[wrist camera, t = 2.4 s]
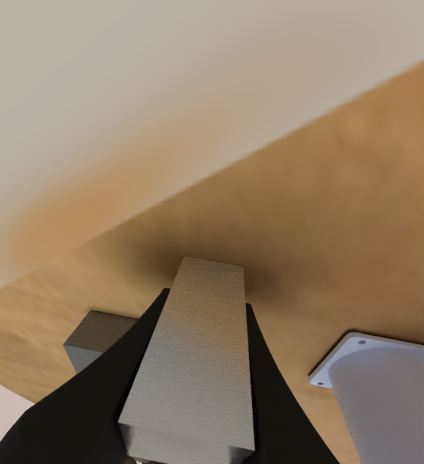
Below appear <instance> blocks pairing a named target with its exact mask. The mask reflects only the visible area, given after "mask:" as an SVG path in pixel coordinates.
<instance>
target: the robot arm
mask: <svg viewBox="0 0 424 464" xmlns="http://www.w3.org/2000/svg"><path fill="white" fill-rule="evenodd" d="M170 290H171V289H169V288H164V289H163V290H162V292H161V293H160V295H159V296H158V297H157V298H156V300H155V301H154V302H153V303H152V305H151V306H150V307H149V308H148V309H147V310H146V312H145V313H144V314H143V315H142V316H141V317H140V318H139V319H138V320H137V321H136V322H135V324H134V325H133V326H132V327H131V328H130V329H129V330H128V331H127V332H126V333H125V334H124V335H123V336H122V337H121V338H119V339H118V340H117V341H116V342H115V343H114V344H113V345H112V346H111V347H110V348H108V349H107V350H106V351H105V352H104V353H103V354H101V355H100V356H99V357H98V358H97V359H96V360H94V361H93V362H92V363H91V364H89V365H88V366H87V367H86V368H84V369H83V370H82V371H80V372H79V373H78V374H76V375H75V376H74V377H73V378H71V379H70V380H69V381H67V382H66V383H65V384H63V385H62V386H61V387H59V388H58V389H56V390H55V391H53V392H52V393H51V394H49V395H48V396H46V397H45V398H43V399H42V400H41V401H39V402H38V403H36V404H35V405H33V406H32V407H30V408H29V409H28V410H26V411H25V412H24V413H23V414H22V416H21V417H20V418H19V419H18V421H16V423H15V424H14V425H13V426H12V427H11V428H10V430H9V431H8V432H7V433H6V435H5V436H4V437H3V439H2V440H1V441H0V464H124V462H125V458H126V455H127V451H128V450H127V448H126V445H125V442H124V439H123V436H122V433H121V430H120V427H119V424H118V421H119V418H120V416H121V413H122V411H123V408H124V406H125V403H126V401H127V398H128V396H129V393H130V391H131V388H132V386H133V383H134V381H135V378H136V375H137V373H138V370H139V368H140V365H141V363H142V360H143V358H144V355H145V353H146V350H147V348H148V345H149V343H150V340H151V338H152V335H153V333H154V330H155V328H156V325H157V323H158V320H159V318H160V315H161V313H162V310H163V308H164V305H165V303H166V300H167V298H168V295H169V292H170ZM245 304H246V320H247V336H248V352H249V368H250V384H251V400H252V415H253V431H254V447H255V451H254V452H253V453H252V454H251V455H250V456H249V457H248V458H247V459H246V460H245V461H244V462H242V463H241V464H340V463H339V462H338V461H337V459H336V458H335V456H334V455H333V454H332V452H331V451H330V449H329V448H328V447H327V445H326V444H325V443H324V441H323V440H322V438H321V437H320V435H319V434H318V432H317V431H316V429H315V428H314V427H313V425H312V424H311V422H310V420H309V419H308V417H307V416H306V414H305V413H304V411H303V410H302V408H301V406H300V405H299V403H298V402H297V400H296V399H295V397H294V395H293V394H292V392H291V390H290V389H289V387H288V385H287V383H286V382H285V380H284V378H283V376H282V374H281V373H280V371H279V369H278V367H277V365H276V363H275V361H274V359H273V357H272V355H271V353H270V351H269V349H268V347H267V344H266V342H265V340H264V337H263V335H262V333H261V330H260V328H259V325H258V323H257V320H256V318H255V315H254V312H253V309H252V306H251V304H249V303H245ZM308 379H309V382H310V383H311V384H312V385H317V386H322V387H327V388H332V389H333V390H334V393H335V396H336V398H337V401H338V404H339V406H340V409H341V411H342V414H343V417H344V419H345V422H346V425H347V427H348V430H349V432H350V435H351V438H352V440H353V443H354V446H355V448H356V451H357V453H358V456H359V459H360V461H361V464H424V345H419V344H414V343H409V342H403V341H398V340H393V339H388V338H382V337H377V336H372V335H366V334H361V333H356V332H351V333H348V334H347V335H346V336H345V337H344V338H343V339H342V340H341V341H340V343H339V344H338V345H337V346H336V347H335V348H334V349H333V350H332V352H331V353H330V354H329V355H328V356H327V357H326V358H325V359H324V361H323V362H322V363H321V364H320V365H319V366H318V367H317V368H316V370H315V371H314V372H313V373H312V374H311V375H310V376H309V378H308Z"/></svg>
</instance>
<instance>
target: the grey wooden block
mask: <svg viewBox="0 0 424 464" xmlns="http://www.w3.org/2000/svg"><path fill="white" fill-rule="evenodd" d="M118 424H119V427H120V430H121V433H122V436H123V439H124V442H125V445H126V448H127V450H128V453H129V456H133V457H138V458H143V459H147V460H152V461H157V462H162V463H166V464H241V463H242V462H244V461H245V460H246V459H247V458H248V457H249V456H250V455H251V454H252V453H253V452H254V451H255V447H254V431H253V415H252V400H251V384H250V368H249V352H248V336H247V320H246V304H245V289H244V273H243V267H242V266H237V265H231V264H226V263H220V262H215V261H210V260H204V259H199V258H193V257H188V256H184V257H183V260H182V262H181V265H180V267H179V270H178V272H177V275H176V277H175V280H174V282H173V285H172V287H171V290H170V292H169V295H168V298H167V300H166V303H165V305H164V308H163V310H162V313H161V315H160V318H159V320H158V323H157V325H156V328H155V330H154V333H153V335H152V338H151V340H150V343H149V345H148V348H147V350H146V353H145V355H144V358H143V360H142V363H141V365H140V368H139V370H138V373H137V375H136V378H135V381H134V383H133V386H132V388H131V391H130V393H129V396H128V398H127V401H126V403H125V406H124V408H123V411H122V413H121V416H120V418H119V421H118Z"/></svg>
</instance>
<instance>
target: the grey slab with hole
mask: <svg viewBox="0 0 424 464" xmlns="http://www.w3.org/2000/svg"><path fill="white" fill-rule="evenodd" d="M136 321H137V319H132V318H127V317H121V316H116V315H111V314H106V313H101V312H95V311H90V312H89V313H88V314H87V315H86V317H85V318H84V319H83V320H82V322H81V323H80V324H79V325H78V327H77V328H76V329H75V330H74V332H73V333H72V334H71V335H70V337H69V338H68V339H67V341H66V342H65V343H64V344H63V346H64V348H65V350H66V352H67V354H68V356H69V358H70V360H71V362H72V364H73V366H74V369H75V371H76V373H77V374H78V373H79V372H80V371H82V370H83V369H84V368H86V367H87V366H88V365H89V364H91V363H92V362H93V361H94V360H96V359H97V358H98V357H99V356H100V355H101V354H103V353H104V352H105V351H106V350H107V349H108V348H110V347H111V346H112V345H113V344H114V343H115V342H116V341H117V340H118V339H119V338H121V337H122V336H123V335H124V334H125V333H126V332H127V331H128V330H129V329H130V328H131V327H132V326H133V325H134V324H135V322H136Z"/></svg>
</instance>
